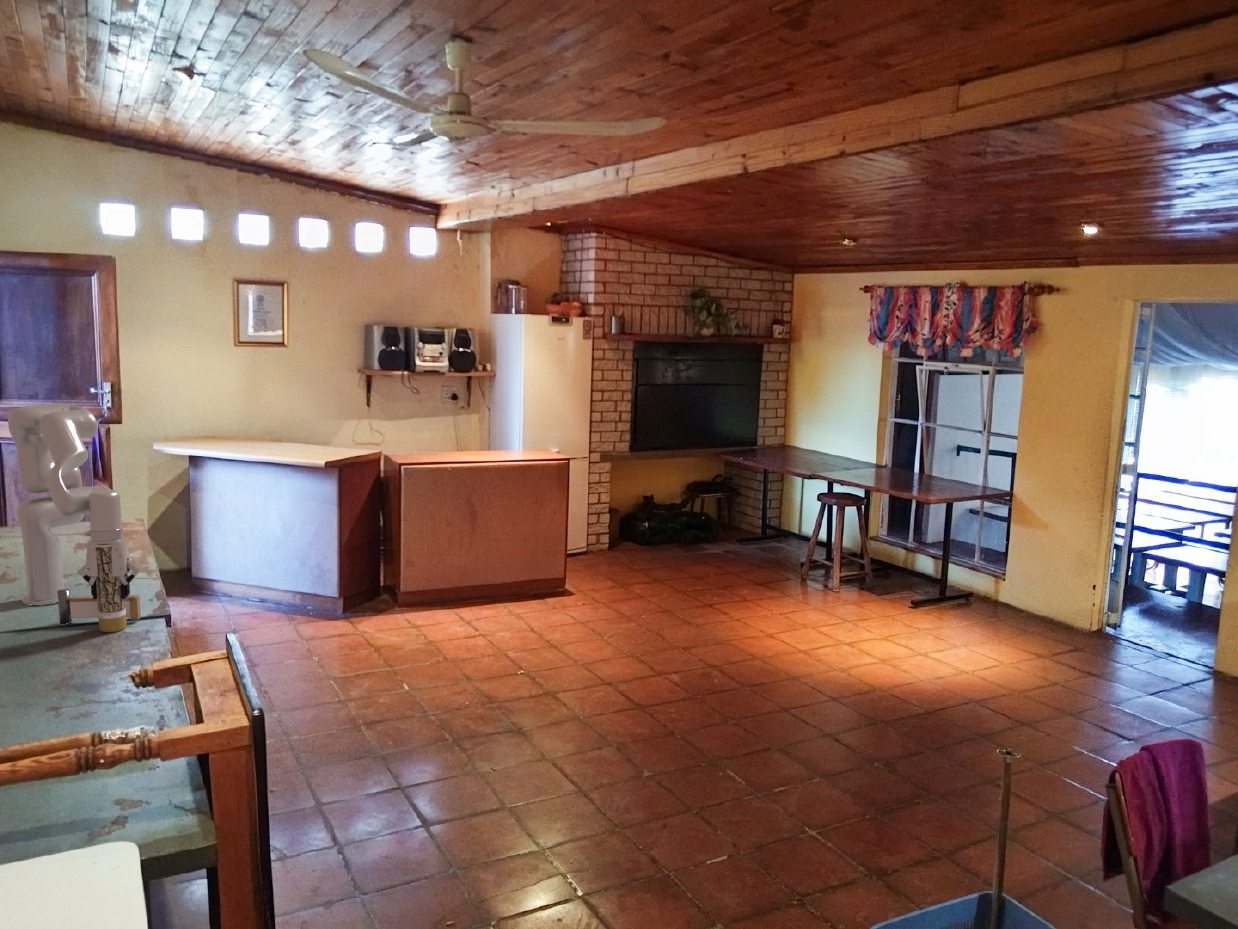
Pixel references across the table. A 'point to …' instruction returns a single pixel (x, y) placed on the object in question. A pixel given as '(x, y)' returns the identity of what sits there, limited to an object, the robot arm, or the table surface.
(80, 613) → the gate
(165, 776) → the table surface
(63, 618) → the hinge post
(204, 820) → the table surface
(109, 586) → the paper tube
